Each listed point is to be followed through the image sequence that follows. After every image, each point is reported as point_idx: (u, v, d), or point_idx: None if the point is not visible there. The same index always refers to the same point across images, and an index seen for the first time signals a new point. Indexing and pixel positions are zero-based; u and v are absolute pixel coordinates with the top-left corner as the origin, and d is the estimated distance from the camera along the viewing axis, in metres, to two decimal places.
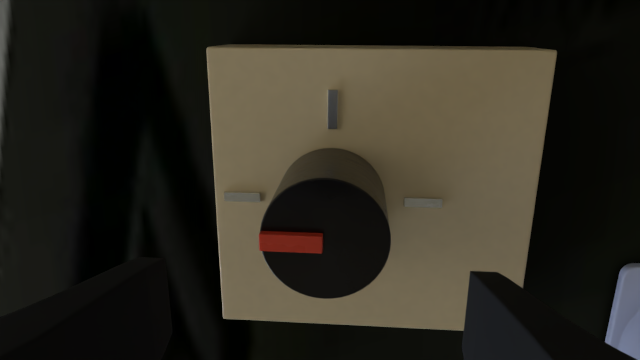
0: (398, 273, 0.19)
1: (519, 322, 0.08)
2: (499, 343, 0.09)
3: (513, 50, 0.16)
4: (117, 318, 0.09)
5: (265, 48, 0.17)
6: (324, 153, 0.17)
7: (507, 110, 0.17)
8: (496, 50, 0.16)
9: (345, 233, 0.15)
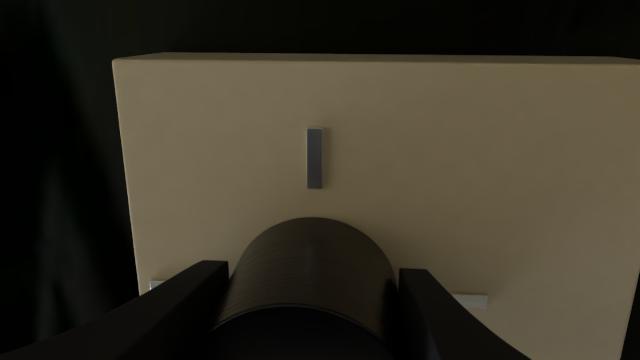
0: None
1: (423, 317, 0.08)
2: (413, 339, 0.09)
3: (611, 65, 0.10)
4: (193, 322, 0.09)
5: (205, 61, 0.11)
6: (301, 230, 0.11)
7: (597, 161, 0.10)
8: (583, 65, 0.10)
9: None
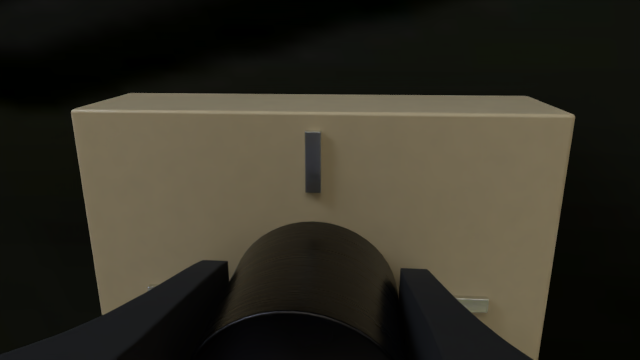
0: None
1: (425, 317, 0.08)
2: (414, 339, 0.09)
3: None
4: (193, 322, 0.09)
5: (559, 209, 0.11)
6: (299, 235, 0.10)
7: None
8: None
9: None
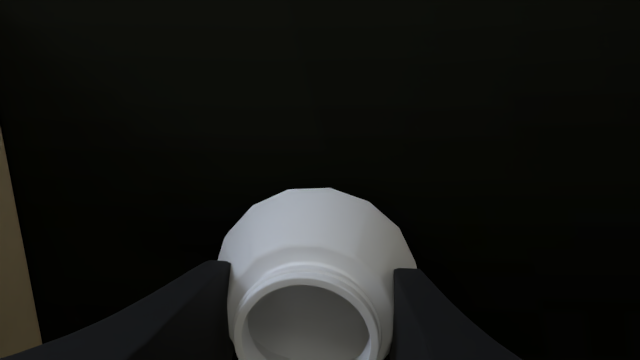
0: None
1: (414, 317, 0.08)
2: (405, 338, 0.09)
3: None
4: (201, 322, 0.09)
5: None
6: None
7: None
8: None
9: None
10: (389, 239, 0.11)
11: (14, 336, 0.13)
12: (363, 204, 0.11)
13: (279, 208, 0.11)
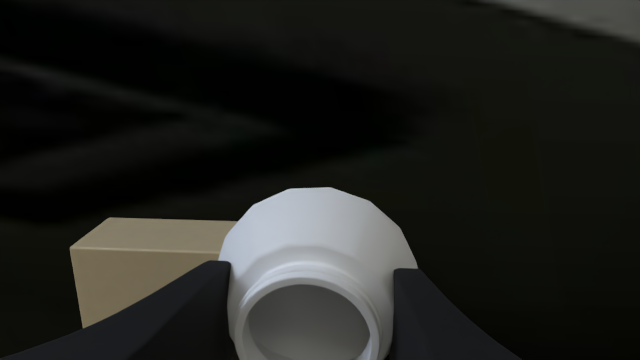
0: None
1: (414, 317, 0.08)
2: (405, 338, 0.09)
3: None
4: (201, 322, 0.09)
5: None
6: None
7: None
8: None
9: None
10: (390, 238, 0.11)
11: None
12: (364, 203, 0.11)
13: (280, 207, 0.11)
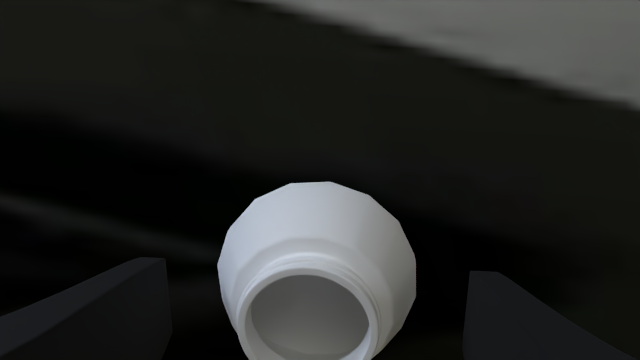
0: None
1: (519, 322, 0.08)
2: (499, 343, 0.09)
3: None
4: (117, 318, 0.09)
5: None
6: None
7: None
8: None
9: None
10: (388, 231, 0.11)
11: None
12: (363, 197, 0.12)
13: (281, 201, 0.11)
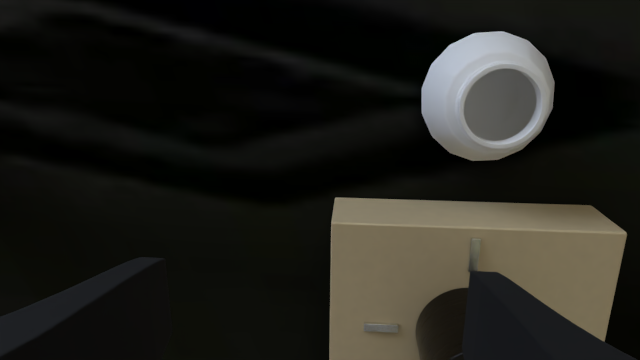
0: None
1: (519, 322, 0.08)
2: (499, 343, 0.09)
3: None
4: (117, 318, 0.09)
5: (616, 283, 0.19)
6: None
7: None
8: None
9: None
10: (541, 58, 0.18)
11: None
12: None
13: (474, 39, 0.18)
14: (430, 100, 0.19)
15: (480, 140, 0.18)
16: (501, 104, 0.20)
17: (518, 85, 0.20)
